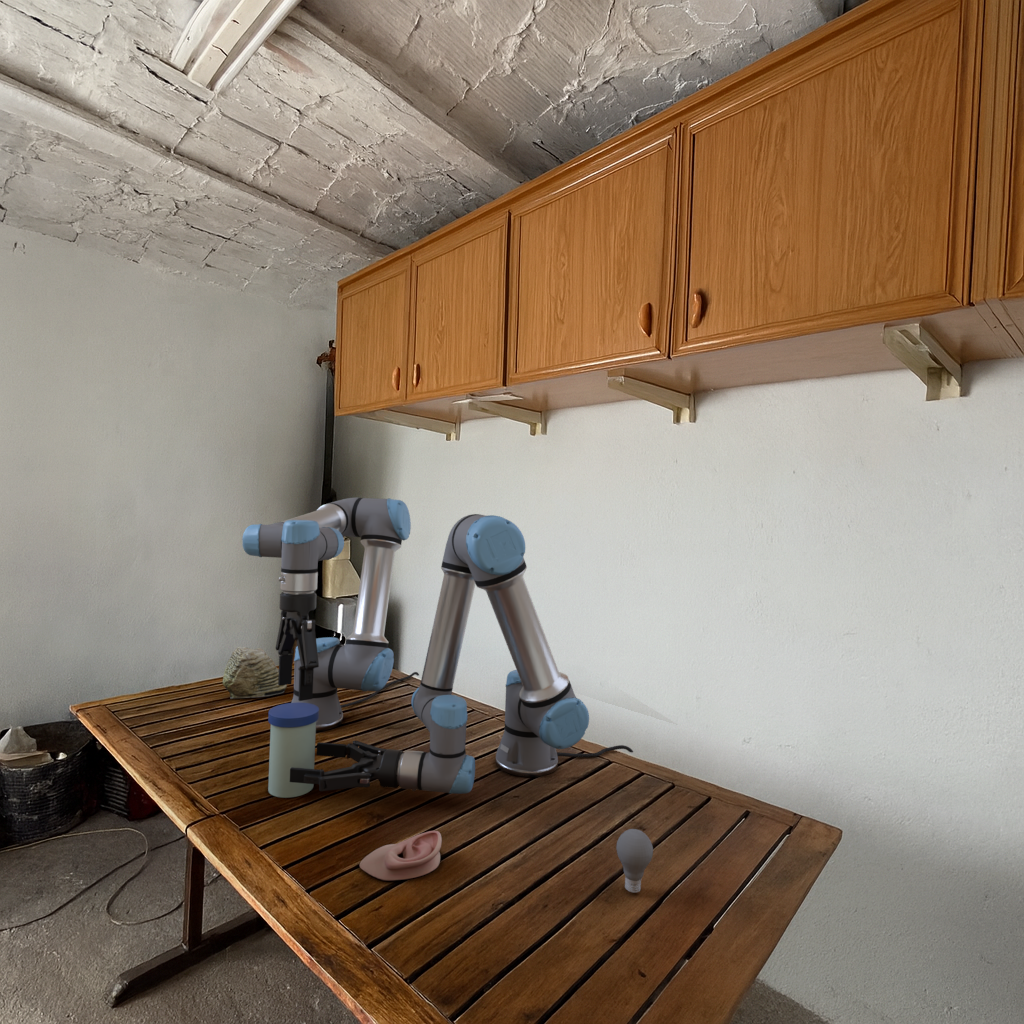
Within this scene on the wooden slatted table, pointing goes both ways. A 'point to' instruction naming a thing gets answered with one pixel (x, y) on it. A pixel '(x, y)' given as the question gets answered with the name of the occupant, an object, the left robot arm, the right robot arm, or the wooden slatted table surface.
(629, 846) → the light bulb
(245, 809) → the wooden slatted table surface
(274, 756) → the jar
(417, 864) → the anatomical model
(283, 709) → the lid
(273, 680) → the fossil
